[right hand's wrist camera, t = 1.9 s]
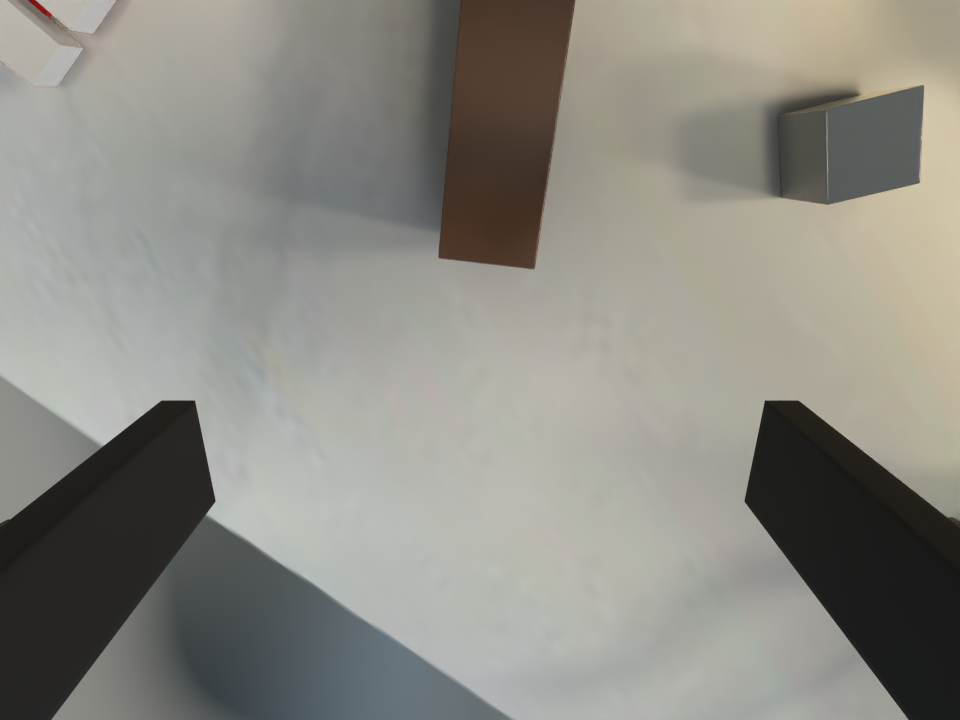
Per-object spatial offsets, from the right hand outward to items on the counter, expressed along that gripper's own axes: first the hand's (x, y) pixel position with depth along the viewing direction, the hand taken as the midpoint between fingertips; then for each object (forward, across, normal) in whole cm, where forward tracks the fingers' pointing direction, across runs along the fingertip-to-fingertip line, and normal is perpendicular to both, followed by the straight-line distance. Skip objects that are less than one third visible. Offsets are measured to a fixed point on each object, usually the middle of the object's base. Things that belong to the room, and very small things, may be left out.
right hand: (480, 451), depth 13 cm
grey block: (+25, -21, -7) cm, 34 cm away
